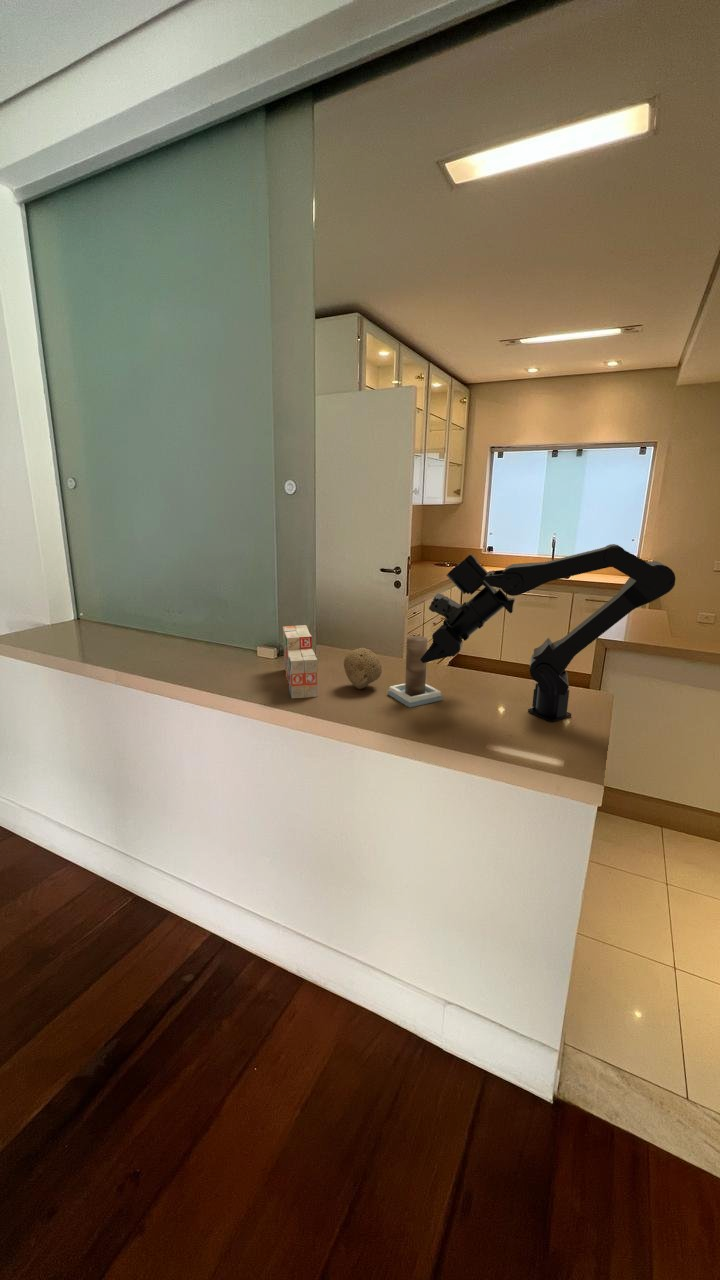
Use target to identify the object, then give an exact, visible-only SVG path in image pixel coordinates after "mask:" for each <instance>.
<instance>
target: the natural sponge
mask: <svg viewBox="0 0 720 1280" xmlns="http://www.w3.org/2000/svg"><path fill="white" fill-rule="evenodd" d="M343 667H344V672H345V674H346V677H347V679H348V680H349V682H350V683H351V684H352V685H353V686H354V687H355V688H356V689H358V690H361V689H365V688H366V687H368V685H369V684H372V683H374V682H376V681H377V680H379V679H380V677H381V675H382V672H383V668H382V664H381V662H380V659H379V657H378V656H377V654H375V652H373V651H372V650H370V649H368V648H365V647H360V648H354V649H352V650H351V651H349V652H348V653H347V654H346V656H344V660H343Z"/></svg>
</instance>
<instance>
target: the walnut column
mask: <svg viewBox="0 0 720 1280" xmlns="http://www.w3.org/2000/svg"><path fill="white" fill-rule="evenodd" d="M428 642H429V641H428V638H427V637H424V636H419V635H417V636H415V635H412V636H408V637H406V650H405V651H406V654H405V655H406V659H405V693H406V694H408V695H409V696H416V695H421V694H425V684H427V683H426V682H427V681H426V680H427V679H426V678H427V663H428V662H426V663H422V661H421V660H420V659H421V658H422V657H423V655H424V654H425V653H426V651H427V650H428Z"/></svg>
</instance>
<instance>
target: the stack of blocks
mask: <svg viewBox="0 0 720 1280" xmlns="http://www.w3.org/2000/svg"><path fill="white" fill-rule="evenodd" d="M282 632H283V633H282V634H283V635H282V637H283V654H284V655H283V656H284V660H283V661H284V662H283V663H284V671H286V674H285V678H286V677H287V679H286V681H287V680H288V681H287V685H288V684H289V685H288V689H289V695H290V698H291V699H303V698H317V697H318V658H317V655H316V654H315V651H314V650H313V636H312V635H311V632H310V631H309V628H308V626H307V624H304V625H300V624H299V625H286V626H282Z"/></svg>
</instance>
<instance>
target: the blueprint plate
mask: <svg viewBox="0 0 720 1280" xmlns="http://www.w3.org/2000/svg"><path fill="white" fill-rule="evenodd" d="M441 693H442V692H441V691H440V690H439V689H437V688H435V687H433V686H431V685H429V684H427V683H426V684H425V694H421V695H416V696H409V695H408V694H406V693H405V683H401V684H395V685H391V686H389V689H388V690H387V696H390V697H392V698H393V699H395V700H396V701H398V702H400V703H402V704H403V705H405V706H406V707H408V708H414V707H418V706H423V705H427V704H432V703H435V702H436V703H437V702H439V701H442V700H443V695H441Z"/></svg>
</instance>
